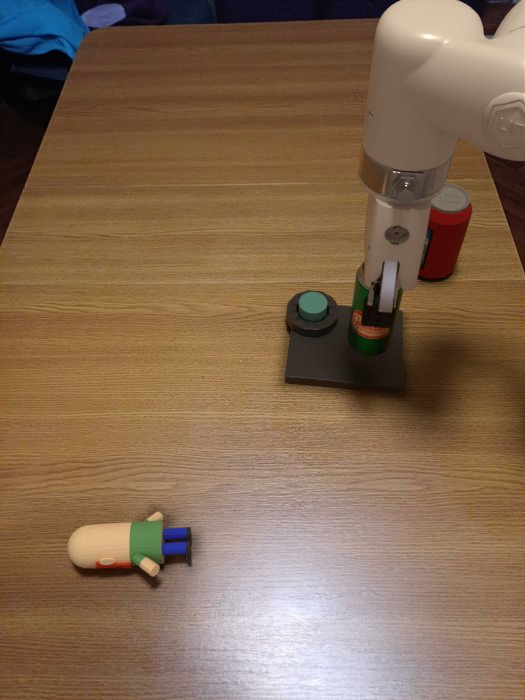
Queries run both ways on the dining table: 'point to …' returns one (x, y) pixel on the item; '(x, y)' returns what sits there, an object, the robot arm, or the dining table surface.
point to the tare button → (312, 306)
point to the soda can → (365, 336)
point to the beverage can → (445, 231)
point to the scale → (339, 352)
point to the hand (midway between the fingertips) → (376, 302)
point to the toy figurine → (128, 544)
